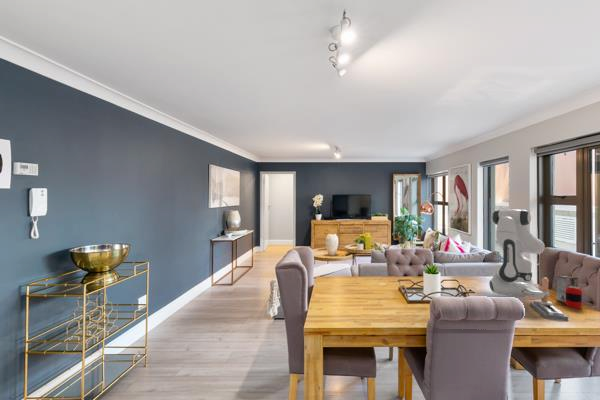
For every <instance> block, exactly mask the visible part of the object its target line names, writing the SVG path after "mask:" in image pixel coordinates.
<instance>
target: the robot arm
mask: <svg viewBox="0 0 600 400" xmlns="http://www.w3.org/2000/svg"><path fill="white" fill-rule="evenodd" d="M491 218H492V219H491V220H492V222H493V224H495V225H496V232H495V234H496V235H495V238H496V239H495V240H496V242H497V244H498V245H499V246H500V247H501V249H502V265H500V266H497V267H496V268H495V270H494V273H493V276H492V277H491V279H490V280H489V282H488V284H489V289H490V290H491V292H492V293H495V294H498V295H503V296H504V295H505V296H515V297H525V296H527V297H531V298H537V299H542V298H544V296H545V295H548V296H551V293H550V292H549V291H548V292H543V291H542V287H539V286H535V285H534V281H533V279H532V278H533V272H532V267H533V266H532V264H533V263H532V260H531V259H529V258H528V257H526V256H525V255H524V254H530V255H538V254H539V255H541V254H542V253H544V251H545V248H546V246H545V243H544V242H543V241H542V240H541V239H540V238H538V237H536V236H534V234H532V233H531V231H530V229H529V226H528V225H529V224H530V223H531V222H532V221H531V220H532V216H531V213H530V211H528V210H526V209H512V208H511V209H497V210H494V211H493V212H492V216H491ZM523 253H524V254H523Z"/></svg>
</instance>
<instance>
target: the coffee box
mask: <svg viewBox="0 0 600 400" xmlns="http://www.w3.org/2000/svg"><path fill="white" fill-rule="evenodd" d="M556 277H557V279H556V300H557V301H560V302H563V303H565V302H566V288H567V287H568V286H574V287H578V283H579V282H578V277H576V276H570V275H557V276H556Z"/></svg>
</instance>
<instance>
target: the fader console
mask: <svg viewBox="0 0 600 400" xmlns="http://www.w3.org/2000/svg"><path fill="white" fill-rule="evenodd" d="M537 300H538V299H533V301H529V305H530V307H532V309H534V310H535V311H536V312H537V313H539V314H540V315H541V316H542V317H543V318H546V319H552V320H559V321H560V320H562V321H569V316H568V315H567V314H565V313H563V312H562V311H561V310H560V309H558V308H557V307H556V306H554V305H553V304H552V305H548V307H546V306H544V305H543V304H539V303H538V302H537Z"/></svg>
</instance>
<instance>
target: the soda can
mask: <svg viewBox="0 0 600 400" xmlns="http://www.w3.org/2000/svg"><path fill="white" fill-rule="evenodd" d="M582 293H583V291H582V289H581V288H580V287H578V286H577V287H574V286H568V287H567V288H566V302H564V303H565V306H566V307H568V308H569V307H570V308H572V309H573V308H574V309H581V308H582V302H583V301H582V299H583V298H582V297H583V296H582V295H583V294H582Z"/></svg>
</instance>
